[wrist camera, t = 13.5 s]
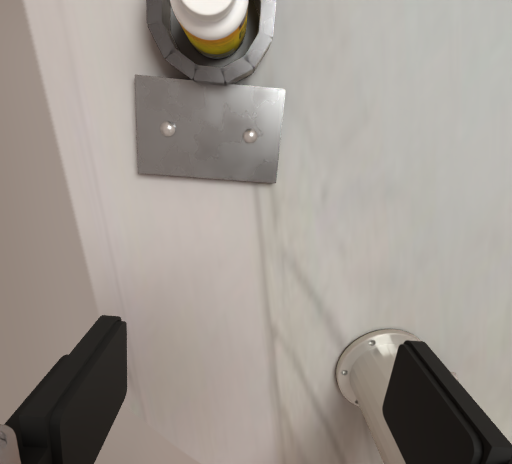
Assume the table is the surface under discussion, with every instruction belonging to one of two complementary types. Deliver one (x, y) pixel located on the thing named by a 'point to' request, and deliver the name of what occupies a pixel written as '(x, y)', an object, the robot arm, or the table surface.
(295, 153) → the table surface
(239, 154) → the ring mounting bracket
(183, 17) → the supplement bottle
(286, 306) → the table surface
